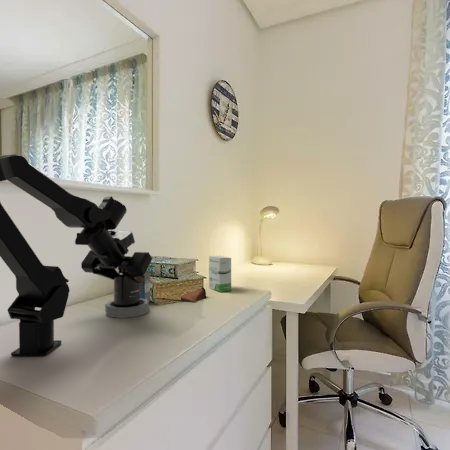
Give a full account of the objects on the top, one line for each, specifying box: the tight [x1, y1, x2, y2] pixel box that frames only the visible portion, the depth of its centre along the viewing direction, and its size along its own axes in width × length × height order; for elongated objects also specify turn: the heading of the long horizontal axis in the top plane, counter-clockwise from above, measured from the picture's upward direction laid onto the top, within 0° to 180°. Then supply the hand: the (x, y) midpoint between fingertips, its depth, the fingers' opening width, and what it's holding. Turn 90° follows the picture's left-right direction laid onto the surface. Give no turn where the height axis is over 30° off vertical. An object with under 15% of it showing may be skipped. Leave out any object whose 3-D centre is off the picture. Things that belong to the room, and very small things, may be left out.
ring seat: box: [104, 298, 150, 319], centre depth 90 cm, size 11×11×2 cm
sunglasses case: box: [181, 286, 207, 303], centre depth 107 cm, size 18×7×7 cm
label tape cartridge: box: [140, 271, 151, 302], centre depth 101 cm, size 9×4×12 cm, turn 76°
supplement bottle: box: [113, 265, 140, 307], centre depth 90 cm, size 7×7×12 cm
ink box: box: [208, 255, 232, 293], centre depth 118 cm, size 9×5×12 cm, turn 30°
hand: (130, 281), depth 91 cm, fingers closed on supplement bottle, 7 cm apart
